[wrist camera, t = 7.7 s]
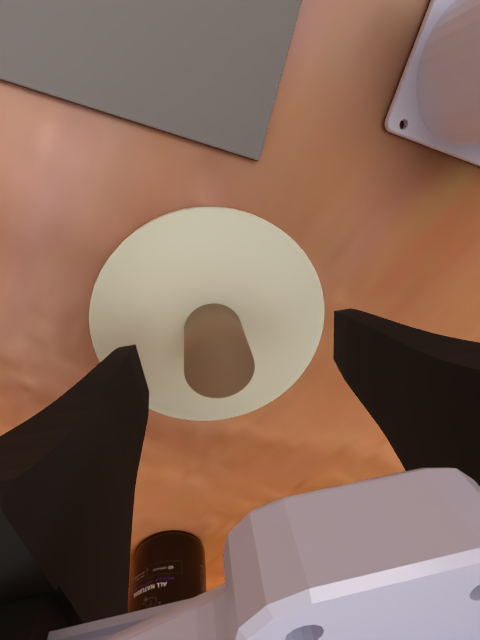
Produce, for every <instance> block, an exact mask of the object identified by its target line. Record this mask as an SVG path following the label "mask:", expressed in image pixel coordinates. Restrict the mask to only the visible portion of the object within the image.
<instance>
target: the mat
mask: <svg viewBox="0 0 480 640" xmlns="http://www.w3.org/2000/svg"><path fill="white" fill-rule="evenodd" d="M301 1H302V0H0V79H1V80H4V81H7V82H10V83H13V84H16V85H20V86H23V87H26V88H29V89H32V90H35V91H38V92H42V93H45V94H48V95H51V96H54V97H57V98H61V99H64V100H67V101H70V102H73V103H76V104H79V105H83V106H86V107H89V108H92V109H95V110H98V111H102V112H105V113H108V114H111V115H114V116H117V117H120V118H124V119H127V120H130V121H133V122H136V123H139V124H143V125H146V126H149V127H152V128H155V129H158V130H161V131H165V132H168V133H171V134H174V135H177V136H180V137H184V138H187V139H190V140H193V141H196V142H199V143H202V144H206V145H209V146H212V147H215V148H218V149H221V150H225V151H228V152H231V153H234V154H237V155H240V156H243V157H247V158H250V159H253V160H256V161H259V159H260V155H261V151H262V148H263V144H264V140H265V136H266V132H267V129H268V125H269V121H270V117H271V114H272V110H273V106H274V102H275V99H276V95H277V91H278V87H279V84H280V80H281V76H282V72H283V69H284V65H285V61H286V57H287V53H288V50H289V46H290V42H291V38H292V35H293V31H294V27H295V23H296V20H297V16H298V12H299V8H300V5H301Z"/></svg>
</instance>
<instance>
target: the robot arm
mask: <svg viewBox="0 0 480 640" xmlns="http://www.w3.org/2000/svg"><path fill="white" fill-rule="evenodd" d="M401 120H402V121H403V122H404V127H403V128H402V129H400V126H399V125H400V122H401ZM385 128H386V130H387V131H388V132H391V133H393V134H396V135H399V136H401V137H404V138H406V139H409V140H412V141H414V142H417V143H420V144H422V145H425V146H428V147H430V148H433V149H435V150H438V151H441V152H443V153H446V154H449V155H451V156H454V157H456V158H459V159H462V160H464V161H467V162H470V163H472V164H475V165H478V166H480V0H431V2H430V4H429V7H428V10H427V12H426V15H425V17H424V20H423V23H422V25H421V28H420V30H419V33H418V36H417V38H416V41H415V43H414V46H413V49H412V51H411V54H410V57H409V59H408V62H407V64H406V67H405V70H404V72H403V75H402V77H401V80H400V83H399V85H398V88H397V91H396V93H395V96H394V98H393V101H392V104H391V106H390V109H389V111H388V114H387V117H386V119H385ZM334 360H335V362H336V364H337V366H338V368H339V370H340V372H341V374H342V376H343V378H344V379H345V381H346V382H347V384H348V385H349V386H350V388H351V389H352V391H353V392H354V393H355V395H356V396H357V397H358V399H359V400H360V401H361V403H362V404H363V405H364V407H365V408H366V409H367V411H368V412H369V413H370V415H371V416H372V417H373V419H374V420H375V421H376V423H377V424H378V425H379V427H380V428H381V430H382V431H383V433H384V434H385V436H386V437H387V439H388V441H389V442H390V444H391V446H392V447H393V449H394V451H395V453H396V454H397V456H398V458H399V459H400V461H401V463H402V465H403V466H404V468H405V470H406V471H405V472H400V473H395V474H391V475H386V476H381V477H377V478H372V479H367V480H363V481H358V482H353V483H349V484H344V485H339V486H335V487H330V488H325V489H321V490H316V491H311V492H307V493H302V494H297V495H293V496H288V497H283V498H280V499H278V500H275V501H273V502H270V503H268V504H265V505H263V506H260V507H258V508H255V509H253V510H251V511H250V512H249V513H248V514H247V515H246V516H245V517H244V518H243V519H242V520H241V521H240V522H239V523H238V524H237V525H236V526H235V527H234V528H233V529H232V530H231V531H230V532H229V533H228V535H227V540H226V545H225V550H224V554H223V559H224V570H225V580H226V583H224V584H222V585H220V586H218V587H216V588H213V589H211V590H209V591H207V592H205V593H202V594H200V595H198V596H196V597H194V598H190V599H186V600H182V601H178V602H173V603H169V604H165V605H161V606H156V607H152V608H148V609H144V610H139V611H135V612H131V613H128V588H129V567H130V547H131V532H132V517H133V505H134V493H135V484H136V477H137V471H138V466H139V461H140V456H141V451H142V446H143V441H144V436H145V431H146V425H147V420H148V410H149V389H148V385H147V382H146V379H145V375H144V372H143V368H142V365H141V361H140V358H139V354H138V351H137V347H136V344H135V345H129V346H123V347H118V348H116V349H115V350H114V351H112V352H111V353H110V354H109V355H108V356H107V357H106V358H105V359H104V360H102V361H101V362H100V363H99V364H98V365H97V366H96V367H95V368H94V369H93V370H92V371H90V372H89V373H88V374H87V375H86V376H85V377H84V378H83V379H81V380H80V381H79V382H78V383H77V384H75V385H74V386H73V387H72V388H71V389H69V390H68V391H67V392H66V393H65V394H63V395H62V396H61V397H60V398H58V399H57V400H56V401H54V402H53V403H52V404H50V405H49V406H48V407H46V408H45V409H43V410H42V411H40V412H39V413H37V414H36V415H35V416H33V417H32V418H30V419H29V420H27V421H25V422H24V423H22V424H20V425H19V426H17V427H15V428H14V429H12V430H10V431H9V432H7V433H5V434H4V435H2V436H0V640H480V343H478V342H472V341H467V340H461V339H457V338H452V337H447V336H442V335H438V334H434V333H430V332H427V331H423V330H420V329H416V328H412V327H409V326H406V325H403V324H400V323H396V322H393V321H390V320H387V319H384V318H381V317H378V316H375V315H372V314H369V313H366V312H363V311H359V310H355V309H345V310H339V311H334Z"/></svg>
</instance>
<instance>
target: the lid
mask: <svg viewBox="0 0 480 640" xmlns="http://www.w3.org/2000/svg"><path fill="white" fill-rule="evenodd" d="M323 324H324V298H323V292H322V287H321V284H320V281H319V278H318V275H317V273H316V271H315V269H314V267H313V265H312V263H311V261H310V260H309V258H308V257H307V255H306V254H305V252H304V251H303V250H302V249H301V248H300V246H299V245H298V244H297V243H296V242H295V241H294V240H293V239H292V238H291V237H289V236H288V235H287V234H286V233H285V232H283V231H282V230H281V229H279V228H278V227H276V226H275V225H273V224H271V223H270V222H268V221H266V220H265V219H263V218H261V217H258V216H256V215H254V214H251V213H249V212H246V211H242V210H238V209H235V208H229V207H221V206H196V207H190V208H183V209H179V210H176V211H172V212H169V213H166V214H164V215H161V216H159V217H157V218H155V219H153V220H150V221H149V222H147V223H146V224H144V225H143V226H141V227H139V228H138V229H136V230H135V231H134V232H133V233H132V234H131V235H129V236H128V237H127V238H126V239H125V240H124V241H123V242H122V243H121V244H120V245H119V247H118V248H117V249H116V250H115V251H114V252H113V253H112V255H111V256H110V257H109V259H108V260H107V262H106V263H105V265H104V267H103V268H102V270H101V271H100V274H99V276H98V278H97V281H96V283H95V285H94V289H93V293H92V296H91V300H90V309H89V327H90V334H91V339H92V344H93V347H94V350H95V352H96V355H97V358H98V360H99V361H100V362H101V361H102V360H104V359H105V358H106V357H107V356H108V355H109V354H110V353H111V352H112V351H114V350H115V349H116V348H118V347H123V346H129V345H135V344H136V347H137V351H138V354H139V358H140V361H141V365H142V368H143V372H144V375H145V379H146V382H147V385H148V389H149V409H151V410H153V411H155V412H157V413H160V414H163V415H166V416H169V417H174V418H179V419H184V420H193V421H212V420H222V419H227V418H232V417H237V416H240V415H243V414H246V413H249V412H251V411H254V410H256V409H258V408H261V407H262V406H264V405H266V404H268V403H270V402H271V401H273V400H274V399H276V398H277V397H279V396H280V395H281V394H283V393H284V392H285V391H286V390H287V389H288V388H290V387H291V386H292V385H293V384H294V383H295V382H296V380H297V379H298V378H299V377H300V376H301V375H302V373H303V372H304V371H305V369H306V368H307V367H308V365H309V363H310V361H311V360H312V358H313V356H314V354H315V352H316V349H317V347H318V344H319V342H320V338H321V334H322V331H323Z"/></svg>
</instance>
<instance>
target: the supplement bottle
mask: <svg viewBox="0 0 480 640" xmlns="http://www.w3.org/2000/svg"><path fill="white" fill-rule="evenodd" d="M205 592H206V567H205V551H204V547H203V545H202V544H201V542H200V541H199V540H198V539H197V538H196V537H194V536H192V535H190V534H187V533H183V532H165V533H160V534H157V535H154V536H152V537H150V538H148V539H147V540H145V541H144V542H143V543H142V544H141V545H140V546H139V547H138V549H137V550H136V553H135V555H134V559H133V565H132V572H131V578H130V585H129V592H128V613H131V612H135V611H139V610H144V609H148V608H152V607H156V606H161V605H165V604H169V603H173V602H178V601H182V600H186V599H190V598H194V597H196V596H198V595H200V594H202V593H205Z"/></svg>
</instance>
